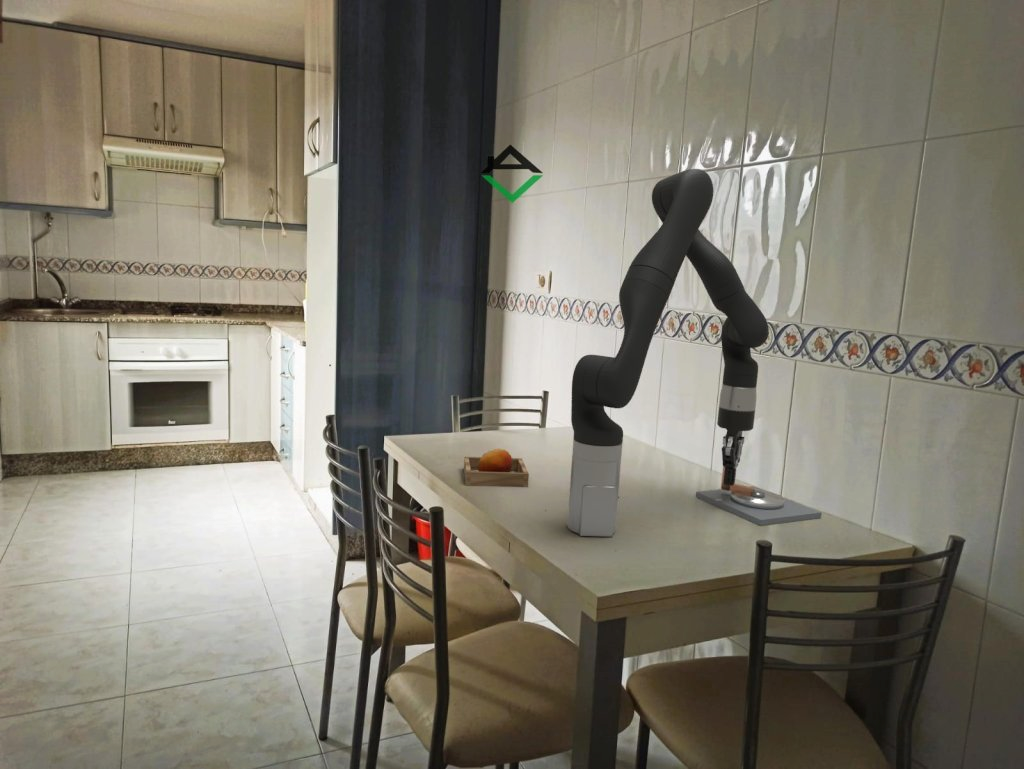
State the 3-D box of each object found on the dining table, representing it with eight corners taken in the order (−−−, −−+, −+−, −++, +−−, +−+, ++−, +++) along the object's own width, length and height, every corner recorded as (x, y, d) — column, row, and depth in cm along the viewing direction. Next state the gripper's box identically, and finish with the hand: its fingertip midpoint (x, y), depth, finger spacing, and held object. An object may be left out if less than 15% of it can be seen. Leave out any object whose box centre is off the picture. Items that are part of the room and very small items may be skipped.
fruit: (507, 480, 168) (493, 447, 169) (481, 491, 172) (468, 459, 173) (525, 472, 175) (512, 441, 176) (500, 484, 179) (487, 453, 180)
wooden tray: (528, 486, 168) (528, 474, 168) (466, 485, 167) (466, 472, 166) (521, 470, 182) (521, 458, 182) (463, 468, 181) (464, 456, 180)
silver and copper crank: (790, 501, 164) (793, 474, 163) (774, 512, 155) (777, 483, 154) (729, 488, 172) (732, 462, 171) (711, 498, 163) (714, 470, 162)
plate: (820, 517, 158) (821, 511, 157) (759, 525, 150) (760, 518, 150) (752, 490, 175) (753, 484, 175) (694, 496, 168) (695, 490, 168)
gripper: (750, 413, 153) (741, 494, 155) (759, 404, 164) (751, 480, 167) (713, 408, 156) (705, 488, 158) (725, 400, 168) (717, 474, 170)
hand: (729, 484), depth 163 cm, fingers closed
